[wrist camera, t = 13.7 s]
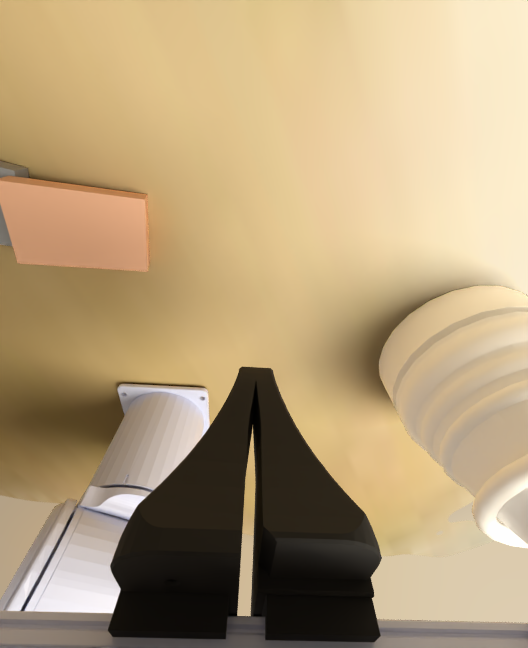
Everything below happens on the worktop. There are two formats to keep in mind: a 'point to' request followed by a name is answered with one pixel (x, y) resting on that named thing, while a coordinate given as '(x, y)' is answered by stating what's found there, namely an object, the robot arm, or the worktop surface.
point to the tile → (75, 224)
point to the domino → (3, 237)
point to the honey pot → (469, 397)
